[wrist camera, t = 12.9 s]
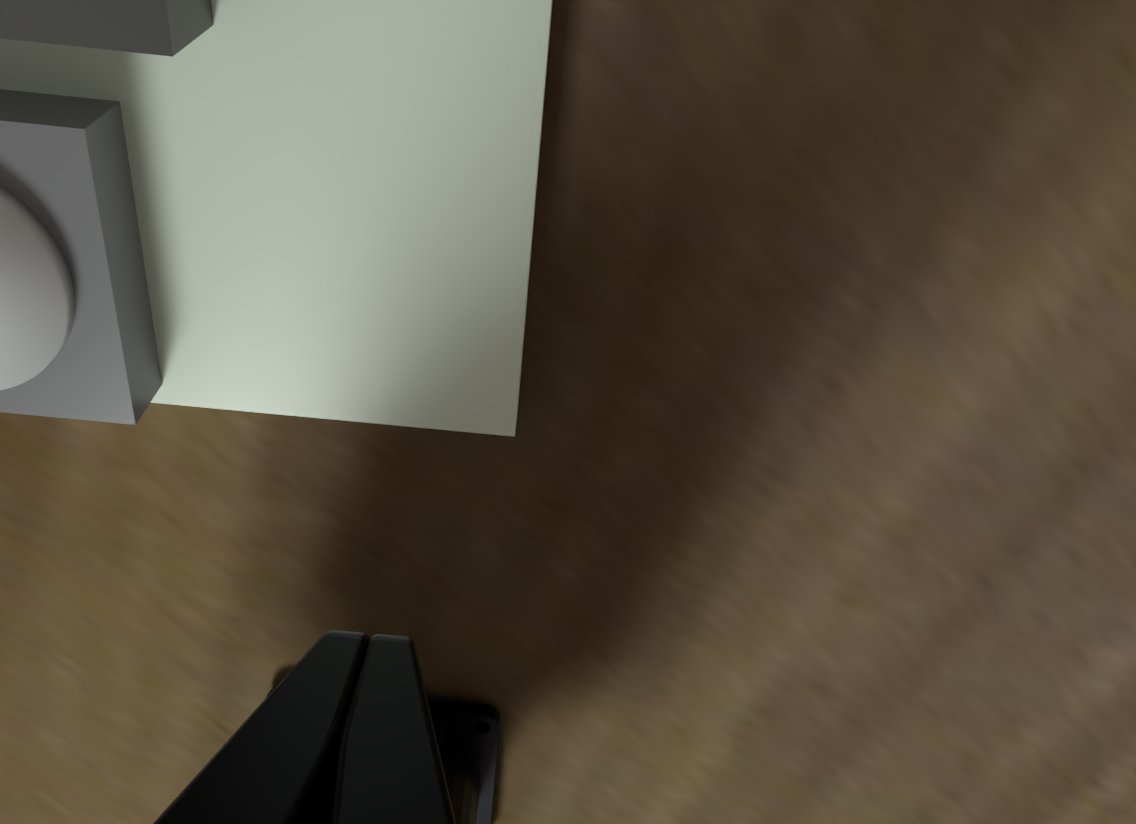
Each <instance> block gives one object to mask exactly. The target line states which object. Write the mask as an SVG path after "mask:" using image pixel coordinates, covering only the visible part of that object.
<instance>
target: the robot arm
mask: <svg viewBox="0 0 1136 824" xmlns="http://www.w3.org/2000/svg"><path fill="white" fill-rule="evenodd" d="M499 728H500V713H499V712H498V710H497V709H496V708H494V707H492V706H490V705H485V704H477V703H465V702H453V701H441V700H429V699H427V696H426V692H425V688H424V683H423V679H422V675H421V671H420V666H419V662H418V658H417V653H416V649H415V645H414V642H413V640H412V639H411V638H410V637H407V636H398V635H387V634H375V635H373V636H372V637H371V638H369V636H368V635H367V634H365V633H363V632H352V631H341V630H330V631H328V632H326V633H325V634H324V635H323V636H322V637H321V638H320V639H319V640H318V641H317V642H316V643H315V644H314V645H313V646H312V648H311V649H310V650H309V651H308V652H307V653H306V654H305V655H304V656H303V658H302V659H301V660H300V661H299V662H298V663H297V664H296V665H295V666H294V668H293V669H292V670H291V671H290V672H289V673H288V674H287V675H286V676H285V678H284V679H283V680H282V681H281V682H280V683H279V684H278V685H277V686H276V688H275V689H272V690H271V691H270V692H269V693H268V694H267V697H266V699H265V700H264V701H263V702H262V703H261V704H260V705H259V706H258V708H257V709H256V710H255V711H254V712H253V713H252V714H251V715H250V717H249V718H248V719H247V720H246V721H245V722H244V723H243V724H242V725H241V727H240V728H239V729H238V730H237V731H236V732H235V733H234V734H233V735H232V737H231V738H230V739H229V740H228V741H227V742H226V743H225V744H224V745H223V747H222V748H221V749H220V750H219V751H218V752H217V753H216V754H215V755H214V757H213V758H212V759H211V760H210V761H209V762H208V763H207V764H206V765H205V767H204V768H203V769H202V770H201V771H200V772H199V773H198V774H197V775H196V777H195V778H194V779H193V780H192V781H191V782H190V783H189V784H188V785H187V787H186V788H185V789H184V790H183V791H182V792H181V793H180V794H179V795H178V797H177V798H176V799H175V800H174V801H173V802H172V803H171V804H170V805H169V807H168V808H167V809H166V810H165V811H164V812H163V813H162V814H161V815H160V817H159V818H158V819H157V820H156V821H155V822H154V823H153V824H491V814H492V803H493V792H494V781H495V771H496V760H497V749H498V738H499Z"/></svg>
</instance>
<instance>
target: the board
mask: <svg viewBox="0 0 1136 824" xmlns="http://www.w3.org/2000/svg"><path fill="white" fill-rule="evenodd" d="M552 4H553V0H0V412H4V413H15V414H25V415H36V416H47V417H58V418H68V419H79V420H90V421H101V422H111V423H122V424H133V425H136V423H137V422H138V420H139V419H140V417H141V416H142V414H143V413H144V411H145V410H146V408H147V407H148V405H149V404H150V402H151V403H162V404H173V405H183V406H194V407H205V408H215V409H226V410H236V411H247V412H258V413H268V414H279V415H290V416H300V417H311V418H322V419H332V420H343V421H354V422H364V423H375V424H386V425H396V426H407V427H418V428H428V429H439V430H450V431H460V432H471V433H481V434H492V435H503V436H513V437H515V430H516V422H517V413H518V402H519V390H520V379H521V367H522V355H523V344H524V332H525V320H526V308H527V297H528V285H529V273H530V262H531V250H532V238H533V226H534V215H535V203H536V191H537V180H538V168H539V156H540V144H541V133H542V121H543V109H544V98H545V86H546V74H547V62H548V51H549V39H550V27H551V16H552Z"/></svg>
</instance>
